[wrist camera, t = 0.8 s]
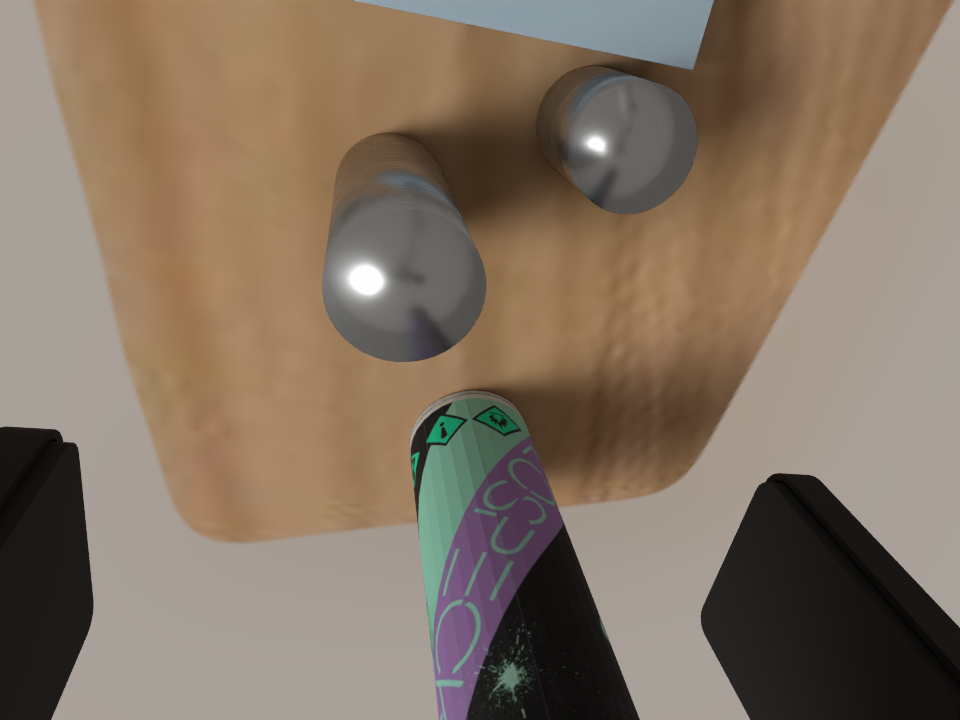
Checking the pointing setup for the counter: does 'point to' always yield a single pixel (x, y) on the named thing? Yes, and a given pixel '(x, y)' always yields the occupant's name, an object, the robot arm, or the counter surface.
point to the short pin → (617, 137)
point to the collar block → (586, 23)
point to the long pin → (399, 254)
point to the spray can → (504, 575)
